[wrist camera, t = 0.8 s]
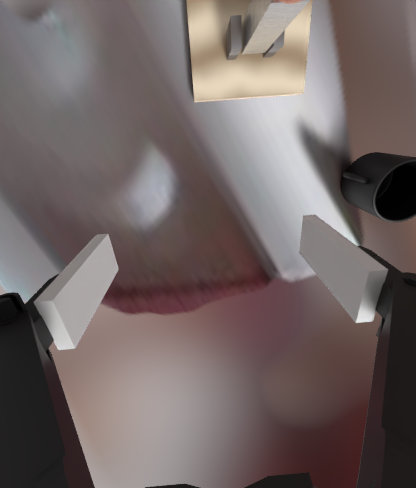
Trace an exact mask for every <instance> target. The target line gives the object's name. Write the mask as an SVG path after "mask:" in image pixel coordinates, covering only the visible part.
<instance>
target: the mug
mask: <svg viewBox="0 0 416 488" xmlns="http://www.w3.org/2000/svg"><path fill="white" fill-rule="evenodd" d="M341 189H342V194H343V196H344V198H345V199H346V201H347V202H348V203H350V204H352V205H354V206H356V207H358V208H360V209H362V210H364V211H366V212H368V213H370V214H372V215H374V216H376V217H378V218H380V219H382V220H384V221H387V222H402V221H405V220H408V219H411V218H413V217H415V216H416V157H409V156H401V155H394V154H386V153H378V152H375V153H369V154H366V155H364V156H362V157H360V158H359V159H357V160H356V161H354V162H353V163H352V164H351V165H350V166H349V168H348V169H347V170H346V172H344V173H343V179H342V185H341Z"/></svg>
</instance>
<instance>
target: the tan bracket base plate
mask: <svg viewBox="0 0 416 488" xmlns="http://www.w3.org/2000/svg"><path fill="white" fill-rule="evenodd" d="M250 1H251V0H187V13H188V26H189V39H190V52H191V65H192V77H193V90H194V102H205V101H219V100H233V99H246V98H260V97H274V96H288V95H299V94H302V93H304V84H305V74H306V63H307V52H308V42H309V31H310V21H311V10H312V0H310V1H309V2H308V4H307V5H306V6H305V7H304V8H303V9H302V10H301V12H300V13H299V14H298V15H297V16H296V17H295V19H294V20H293V21H292V22H291V23H290V24H289V25H288V27H287V28H286V29H285V30H284V31H283V32H282V34H281V35H280V36H279V37H278V38H277V39H276V40H275V42H274V43H273V44H272V45H271V46H270V47H269V48H268V50H267V51H266V52H265V53H256V54H242V55H241V49H242V21H243V19H244V16H245V14H246V11H247V9H248V6H249V4H250Z"/></svg>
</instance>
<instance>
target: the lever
mask: <svg viewBox="0 0 416 488" xmlns="http://www.w3.org/2000/svg"><path fill="white" fill-rule="evenodd" d="M309 1H310V0H251V1H250V4H249V6H248V9H247V11H246V14H245V16H244V19H243V21H242V49H241V55H242V54H256V53H265V52H266V51H267V50H268V48H269V47H270V46H271V45H272V44H273V43H274V42H275V40H276V39H277V38H278V37H279V36H280V35H281V34H282V32H283V31H284V30H285V29H286V28H287V27H288V25H289V24H290V23H291V22H292V21H293V20H294V19H295V17H296V16H297V15H298V14H299V13H300V12H301V10H302V9H303V8H304V7H305V6H306V5H307V4H308V2H309Z"/></svg>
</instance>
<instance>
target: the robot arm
mask: <svg viewBox="0 0 416 488" xmlns="http://www.w3.org/2000/svg"><path fill="white" fill-rule="evenodd" d="M299 253H300V254H301V255H302V257H303V258H304V259H305V260H306V262H307V263H308V264H309V265H310V267H311V268H312V269H313V270H314V272H315V273H316V274H317V275H318V276H319V278H320V279H321V280H322V281H323V283H324V284H325V285H326V286H327V288H328V289H329V290H330V291H331V293H332V294H333V295H334V296H335V297H336V299H337V300H338V301H339V303H340V304H341V305H342V306H343V307H344V309H345V310H346V311H347V312H348V314H349V315H350V316H351V317H352V319H353V320H354V321H355V322H356V323H358V322H368V321H373V318H374V315H375V312H376V311H377V312H378V313H379V314H380V315H381V316H382V319H381V323H380V326H379V329H378V332H377V335H376V336H377V337H378V342H377V349H376V356H375V364H374V370H373V378H372V384H371V392H370V399H369V406H368V413H367V420H366V427H365V434H364V441H363V449H362V455H361V462H360V469H359V476H358V481H357V486H356V488H416V274H415V273H402V272H401V271H399V270H398V269H396V268H395V267H394V266H392V265H391V264H389V263H388V262H387V261H385V260H383V259H382V258H381V257H380V256H378V255H377V254H375V253H374V252H372V251H371V250H369V249H367V248H364V247H362V246H356V245H355V244H353V243H352V242H351V241H349V240H348V239H347V238H345V237H344V236H343V235H341V234H340V233H339V232H337V231H336V230H335V229H333V228H332V227H331V226H329V225H328V224H327V223H325V222H324V221H323V220H321V219H320V218H319V217H317V216H316V215H305V216H303V222H302V232H301V242H300V252H299ZM118 270H119V269H118V266H117V262H116V259H115V255H114V252H113V249H112V245H111V242H110V238H109V235H108V234H99V235H96V236H95V237H94V238H93V239H92V240H91V241H90V242H89V243H88V244H87V245H86V246H85V247H84V249H83V250H82V251H81V252H80V253H79V254H78V255H77V256H76V257H75V258H74V259H73V260H72V261H71V263H70V264H69V265H68V266H67V267H66V268H65V269H64V270H63V271H62V272H61V273H60V274H57V275H56V276H54V277H53V278H51V279H49V280H48V281H47V282H46V283H45V284H44V285H43V286H42V288H40V289H39V290H38V291H37V293H35V294H34V295H33V296H32V298H31V299H30V300H29V301H28V302H27V303H26V304H24V302H23V301H22V299H21V297H20V295H19V294H18V293H6V294H3V295H0V488H95V487H94V484H93V481H92V478H91V475H90V472H89V469H88V466H87V462H86V460H85V456H84V453H83V450H82V447H81V444H80V441H79V438H78V435H77V431H76V428H75V425H74V422H73V419H72V416H71V413H70V410H69V407H68V404H67V400H66V398H65V394H64V391H63V388H62V385H61V382H60V379H59V376H58V373H57V370H56V366H55V363H54V360H53V357H52V354H51V352H50V350H49V346H50V345H51V344H52V342H53V341H54V343H55V344H56V347H57V348H58V350H64V349H75V348H76V346H77V344H78V342H79V341H80V339H81V337H82V335H83V333H84V332H85V330H86V328H87V326H88V324H89V322H90V320H91V319H92V317H93V315H94V313H95V311H96V310H97V308H98V306H99V304H100V302H101V301H102V299H103V297H104V295H105V293H106V292H107V290H108V288H109V286H110V284H111V282H112V281H113V279H114V277H115V275H116V273H117V272H118ZM145 488H199V487H195V486H191V485H188V484H177V485H166V486H156V487H145ZM245 488H317V487H313V485H312V481H311V478H310V475H309V473H299V474H287V475H276V476H268V477H266V478H264V479H262V480H260V481H257V482H255V483H254V484H251V485H249V486H247V487H245Z"/></svg>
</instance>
